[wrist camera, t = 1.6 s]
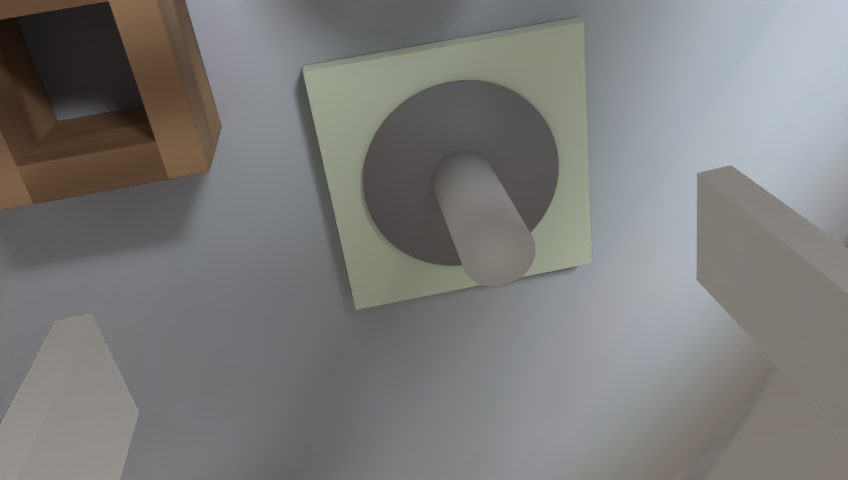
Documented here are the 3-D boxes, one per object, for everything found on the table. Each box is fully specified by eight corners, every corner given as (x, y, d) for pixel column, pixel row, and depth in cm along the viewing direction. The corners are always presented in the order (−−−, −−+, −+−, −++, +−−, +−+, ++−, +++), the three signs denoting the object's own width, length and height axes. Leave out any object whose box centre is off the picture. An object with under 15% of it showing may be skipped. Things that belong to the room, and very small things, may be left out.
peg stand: (302, 65, 31) (303, 132, 24) (576, 17, 32) (657, 67, 25) (354, 299, 37) (367, 409, 30) (585, 253, 38) (652, 350, 30)
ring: (-50, -35, 28) (-116, -13, 23) (164, -70, 28) (139, -55, 24) (34, 160, 31) (-9, 211, 27) (221, 127, 32) (209, 171, 28)
